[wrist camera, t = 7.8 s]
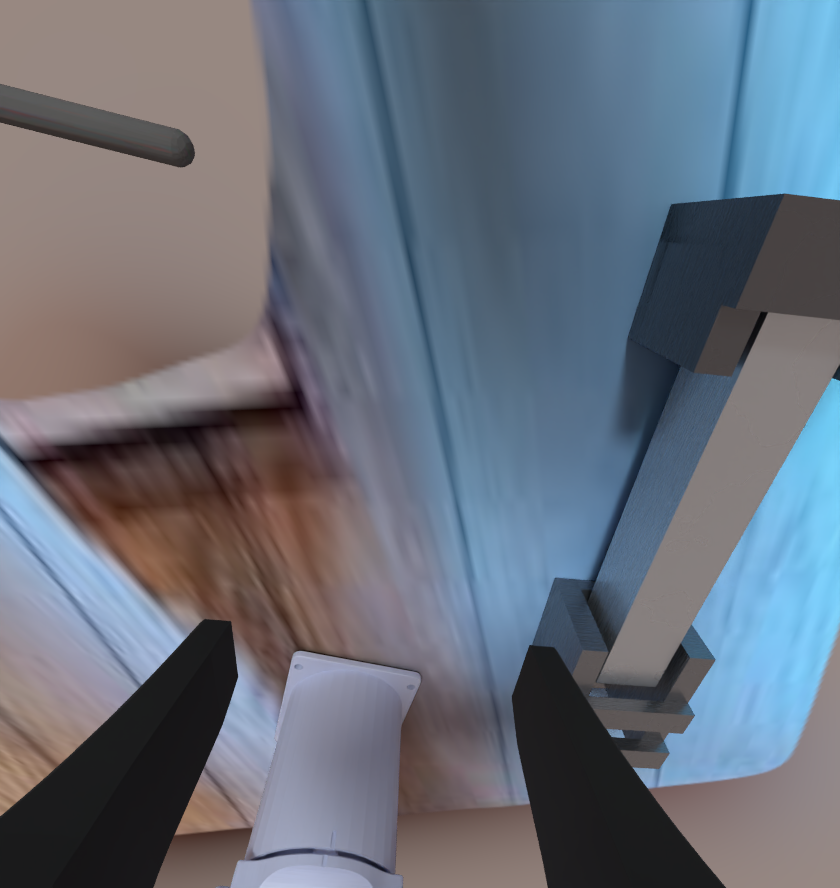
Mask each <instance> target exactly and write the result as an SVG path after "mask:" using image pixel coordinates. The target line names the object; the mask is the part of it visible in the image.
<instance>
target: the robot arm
mask: <svg viewBox="0 0 840 888" xmlns="http://www.w3.org/2000/svg"><path fill="white" fill-rule="evenodd" d="M237 679H238V672H237V664H236V656H235V648H234V640H233V632H232V625H231V621H221V620H209V619H205V620H203V621H202V622H200V624H199V625H198V626H197V627H196V628H195V629H194V630H193V631H192V632H191V633H190V635H189V636H188V637H187V638H186V639H185V640H184V641H183V642H182V643H181V644H180V646H179V647H178V648H177V649H176V650H175V651H174V652H173V653H172V654H171V655H170V656H169V657H168V659H167V660H166V661H165V662H164V663H163V664H162V665H161V666H160V667H159V668H158V669H157V670H156V671H155V672H154V673H153V674H152V675H151V676H150V678H149V679H148V680H147V681H146V682H145V683H144V684H143V685H142V686H141V687H140V688H139V689H138V690H137V691H136V692H135V693H134V694H133V695H132V696H131V697H130V698H129V699H128V700H127V701H126V702H125V703H124V704H123V705H122V706H121V707H120V708H119V709H118V710H117V711H116V712H115V713H114V714H113V715H112V716H111V717H110V718H109V719H108V720H107V721H106V722H105V723H104V724H103V725H101V726H100V727H99V728H98V729H97V730H96V731H95V732H94V733H93V734H92V735H91V736H90V737H89V738H88V739H87V740H86V741H85V742H83V743H82V744H81V745H80V746H79V747H78V748H77V749H76V750H75V751H74V752H73V753H72V754H71V755H70V756H69V757H68V758H67V759H65V760H64V761H63V762H62V763H61V764H60V765H59V766H58V767H57V768H55V769H54V770H53V771H52V772H51V773H50V774H49V775H48V776H47V777H45V778H44V779H43V780H42V781H41V782H40V783H39V784H38V785H36V786H35V787H34V788H33V789H32V790H31V791H30V792H28V793H27V794H26V795H25V796H24V797H23V798H21V799H20V800H19V801H18V802H17V803H16V804H14V805H13V806H12V807H11V808H10V809H9V810H7V811H6V812H5V813H4V814H3V815H2V816H0V888H153V887H154V884H155V881H156V879H157V876H158V873H159V871H160V868H161V866H162V863H163V861H164V858H165V856H166V853H167V851H168V848H169V846H170V843H171V841H172V839H173V837H174V834H175V832H176V830H177V828H178V825H179V823H180V821H181V818H182V816H183V814H184V812H185V809H186V807H187V805H188V803H189V800H190V798H191V796H192V793H193V791H194V789H195V787H196V784H197V782H198V780H199V778H200V775H201V773H202V771H203V769H204V766H205V764H206V762H207V759H208V757H209V755H210V752H211V750H212V748H213V746H214V743H215V741H216V739H217V736H218V734H219V732H220V729H221V727H222V725H223V722H224V719H225V716H226V713H227V710H228V707H229V704H230V701H231V698H232V694H233V691H234V688H235V685H236V682H237ZM420 683H421V676H420V674H419V673H417V672H413V671H408V670H402V669H397V668H392V667H386V666H381V665H375V664H370V663H365V662H359V661H354V660H349V659H343V658H338V657H332V656H327V655H322V654H316V653H311V652H305V651H297V652H295V653H294V654H293V657H292V661H291V665H290V670H289V674H288V679H287V683H286V688H285V692H284V697H283V701H282V706H281V710H280V715H279V719H278V724H277V728H276V733H275V737H274V739H275V741H276V742H277V745H276V748H275V752H274V755H273V759H272V763H271V766H270V770H269V773H268V777H267V780H266V784H265V788H264V791H263V795H262V798H261V802H260V805H259V809H258V813H257V816H256V820H255V823H254V827H253V830H252V834H251V838H250V841H249V845H248V848H247V852H246V855H245V859H244V860H239V861H238V862H237V866H236V869H235V872H234V876H233V880H232V883H231V886H230V887H227V886H218V887H216V888H403V876H402V875H397V874H395V865H396V841H397V816H398V791H399V767H400V742H401V725H402V723H403V721H404V719H405V717H406V714H407V712H408V710H409V708H410V706H411V703H412V701H413V699H414V697H415V695H416V692H417V690H418V688H419V686H420ZM512 703H513V712H514V721H515V729H516V737H517V745H518V750H519V755H520V759H521V764H522V769H523V773H524V778H525V783H526V787H527V792H528V796H529V801H530V805H531V810H532V814H533V819H534V823H535V828H536V832H537V837H538V841H539V846H540V850H541V855H542V860H543V864H544V870H545V874H546V880H547V885H548V888H726V887H725V886H724V885H723V884H722V882H721V881H720V880H719V879H718V878H717V876H716V875H715V874H714V873H713V872H712V870H711V869H710V868H709V867H708V866H707V864H706V863H705V862H704V861H703V860H702V859H701V857H700V856H699V855H698V853H697V852H696V851H695V850H694V848H693V847H692V846H691V845H690V843H689V842H688V841H687V840H686V838H685V837H684V836H683V835H682V833H681V832H680V831H679V830H678V828H677V827H676V826H675V825H674V823H673V822H672V821H671V819H670V818H669V817H668V815H667V814H666V813H665V811H664V810H663V809H662V807H661V806H660V805H659V804H658V802H657V801H656V799H655V798H654V797H653V795H652V794H651V793H650V791H649V790H648V788H647V787H646V786H645V784H644V783H643V782H642V780H641V779H640V777H639V776H638V775H637V773H636V772H635V771H634V769H633V768H632V766H631V765H630V763H629V762H628V761H627V759H626V758H625V756H624V755H623V753H622V752H621V750H620V749H619V747H618V746H617V744H616V743H615V741H614V740H613V739H612V737H611V736H610V734H609V733H608V731H607V730H606V728H605V727H604V725H603V724H602V722H601V721H600V719H599V718H598V716H597V714H596V713H595V711H594V710H593V708H592V707H591V705H590V704H589V702H588V700H587V699H586V697H585V696H584V694H583V692H582V691H581V689H580V688H579V686H578V684H577V683H576V681H575V680H574V678H573V676H572V675H571V673H570V671H569V670H568V668H567V666H566V665H565V663H564V661H563V660H562V658H561V656H560V655H559V653H558V652H557V650H556V649H555V648H554V647H546V646H534V645H529V648H528V651H527V654H526V657H525V660H524V663H523V666H522V669H521V672H520V675H519V678H518V680H517V683H516V686H515V689H514V692H513V695H512Z"/></svg>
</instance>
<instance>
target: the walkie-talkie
mask: <svg viewBox="0 0 840 888" xmlns="http://www.w3.org/2000/svg"><path fill="white" fill-rule="evenodd" d="M0 122H1V123H5V124H9V125H13V126H17V127H21V128H25V129H29V130H33V131H36V132H41V133H45V134H48V135H53V136H56V137H61V138H65V139H68V140H72V141H76V142H80V143H84V144H88V145H92V146H97V147H100V148H105V149H108V150H113V151H117V152H120V153H124V154H128V155H132V156H136V157H140V158H144V159H148V160H152V161H157V162H160V163H165V164H169V165H172V166H177V167H185V166H187V165H189V164H191V163H192V161H193V159H194V156H195V152H194V147H193V144H192V142H191V141H190V139H189V137H188V136H187V135H186V134H185V133H183V132H182V131H180V130H179V129H175V128H171V127H167V126H163V125H159V124H155V123H151V122H147V121H143V120H140V119H135V118H131V117H128V116H124V115H120V114H116V113H112V112H108V111H104V110H100V109H96V108H93V107H88V106H85V105H80V104H77V103H73V102H69V101H65V100H61V99H57V98H53V97H49V96H45V95H42V94H38V93H34V92H30V91H25V90H22V89H18V88H14V87H10V86H6V85H2V84H0Z"/></svg>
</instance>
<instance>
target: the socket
mask: <svg viewBox="0 0 840 888" xmlns="http://www.w3.org/2000/svg"><path fill="white" fill-rule="evenodd" d="M761 312H770V313H779V314H788V315H797V316H806V317H815V318H824V319H833V320H840V200H831V199H823V198H815V197H807V196H799V195H791V194H776V195H765V196H755V197H744V198H733V199H722V200H712V201H701V202H690V203H679V204H671V208H670V211H669V214H668V217H667V220H666V223H665V226H664V229H663V232H662V235H661V238H660V241H659V244H658V247H657V250H656V253H655V257H654V260H653V263H652V266H651V269H650V272H649V275H648V278H647V281H646V284H645V287H644V290H643V293H642V296H641V299H640V302H639V306H638V309H637V312H636V315H635V318H634V321H633V324H632V327H631V330H630V333H629V336H628V338H629V339H631V340H633V341H635V342H637V343H639V344H641V345H642V346H644V347H646V348H648V349H650V350H652V351H654V352H656V353H657V354H659V355H661V356H663V357H665V358H667V359H669V360H670V361H672V362H674V363H676V364H678V365H680V366H682V367H684V368H685V369H687V370H689V371H691V372H693V373H700V374H710V375H720V376H729V377H731V376H732V374H733V372H734V370H735V368H736V366H737V363H738V361H739V359H740V357H741V355H742V352H743V350H744V348H745V346H746V344H747V341H748V339H749V337H750V335H751V333H752V331H753V328H754V326H755V324H756V322H757V320H758V317H759V315H760V313H761ZM832 378H834V379H836V380H839V381H840V365H839V366H838V368H837V370H836V372H835V373H834V375H833V377H832Z"/></svg>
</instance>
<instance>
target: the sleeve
mask: <svg viewBox="0 0 840 888" xmlns="http://www.w3.org/2000/svg"><path fill="white" fill-rule="evenodd" d="M595 582H596V581H587V580H575V579H562V578H555V580H554V583H553V586H552V589H551V592H550V595H549V598H548V601H547V604H546V607H545V610H544V613H543V616H542V619H541V622H540V625H539V628H538V631H537V634H536V637H535V640H534V643H533V645H534V646H546V647H554V648H555V649H556V650H557V652H558V653H559V655H560V656H561V658H562V660H563V661H564V663H565V665H566V666H567V668H568V670H569V671H570V673H571V675H572V676H573V678H574V680H575V681H576V683H577V684H578V686H579V688H580V689H581V691H582V692H583V694H584V696H585V697H586V699H587V700H588V702H589V704H590V705H591V707H592V708H593V710H594V711H595V713H596V714H597V716H598V718H599V719H600V721H601V722H602V724H603V725H604V727H605V728H606V729H618V730H622V731H623V734H624V736H625V738H615V737H612V739H613V740H614V741H615V743H616V744H617V746H618V747H619V749H620V750H621V752H622V753H623V755H624V756H625V758H626V759H627V761H628V762H629V763H630V765H631V766H632V767H636V768H653V769H659V768H660V767H661V765H662V764H663V762H664V761H665V759H666V758H667V756H668V755H669V751H668V749H667V747H666V744H665V742H664V739H665V738H666V736H667V735H668V733H680V734H683V733H684V731H685V730H686V728H687V727H688V725H689V724H690V722H691V721H692V719H693V718H694V716H695V715H694V713H693V711H692V710H691V708H690V706H689V704H688V702H689V700H690V699H691V697H692V696H693V694H694V693H695V691H696V690H697V688H698V686H699V685H700V683H701V682H702V680H703V679H704V677H705V676H706V674H707V672H708V671H709V669H710V668H711V666H712V665H713V663H714V662H715V658H714V657H713V655H712V654H711V652H710V651H709V649H708V648H707V646H706V645H705V643H704V642H703V641H702V639H701V638H700V636H699V635H698V633H697V632H696V630H695V629H694V627H693V626H692V624H691V626H690V628H689V629H688V631H687V633H686V635H685V636H684V638H683V640H682V642H681V643H680V645H679V647H678V649H677V650H676V652H675V654H674V656H673V657H672V659H671V661H670V663H669V664H668V666H667V668H666V670H665V671H664V673H663V675H662V677H661V678H660V680H659V682H658V684H657V685H656V687H647V686H633V685H618V684H604V683H596V679H597V676H598V674H599V672H600V670H601V668H602V666H603V663H604V661H605V659H606V657H607V655H608V653H609V652H608V649H607V647H606V645H605V642H604V640H603V638H602V636H601V633H600V631H599V629H598V627H597V624H596V622H595V620H594V618H593V615H592V613H591V611H590V608H589V606H588V604H587V602H588V600H589V597H590V594H591V592H592V589H593V587H594V584H595ZM592 688H606V691H607V693H608V696H609V698H605V697H591V696H589V694H590V692H591V689H592Z"/></svg>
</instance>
